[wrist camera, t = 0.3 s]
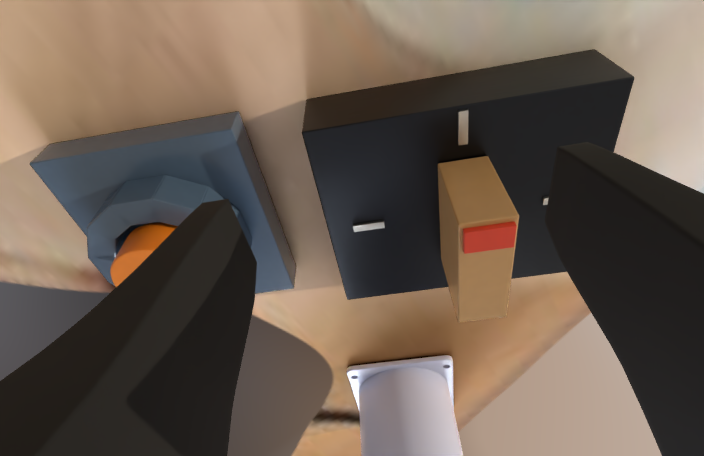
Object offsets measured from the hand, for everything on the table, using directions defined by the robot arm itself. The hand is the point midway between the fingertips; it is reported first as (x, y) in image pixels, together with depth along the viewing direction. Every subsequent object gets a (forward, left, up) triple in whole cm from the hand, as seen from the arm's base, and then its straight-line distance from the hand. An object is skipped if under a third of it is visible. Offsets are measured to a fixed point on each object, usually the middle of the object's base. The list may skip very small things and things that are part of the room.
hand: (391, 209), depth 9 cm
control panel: (-6, -3, -10) cm, 12 cm away
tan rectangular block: (-6, -3, -7) cm, 10 cm away
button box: (-6, +10, -10) cm, 16 cm away
